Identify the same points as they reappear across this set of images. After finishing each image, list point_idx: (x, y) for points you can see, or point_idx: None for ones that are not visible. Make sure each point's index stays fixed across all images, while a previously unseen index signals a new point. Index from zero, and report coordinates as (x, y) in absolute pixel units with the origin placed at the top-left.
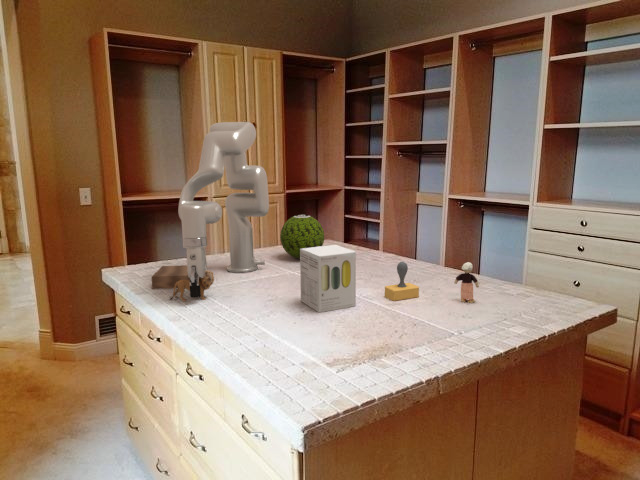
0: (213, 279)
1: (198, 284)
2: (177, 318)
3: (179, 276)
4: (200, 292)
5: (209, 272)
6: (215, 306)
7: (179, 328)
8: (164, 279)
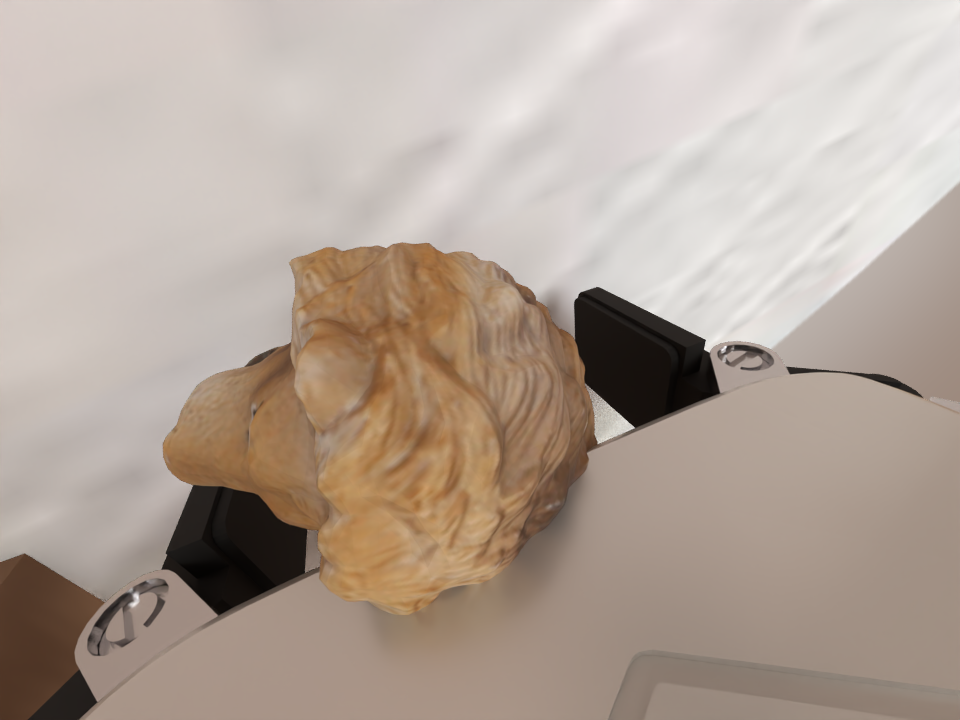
0: (371, 248)
1: (760, 348)
2: (811, 280)
3: None
4: (610, 305)
5: (505, 442)
6: (677, 57)
7: (945, 194)
8: None
